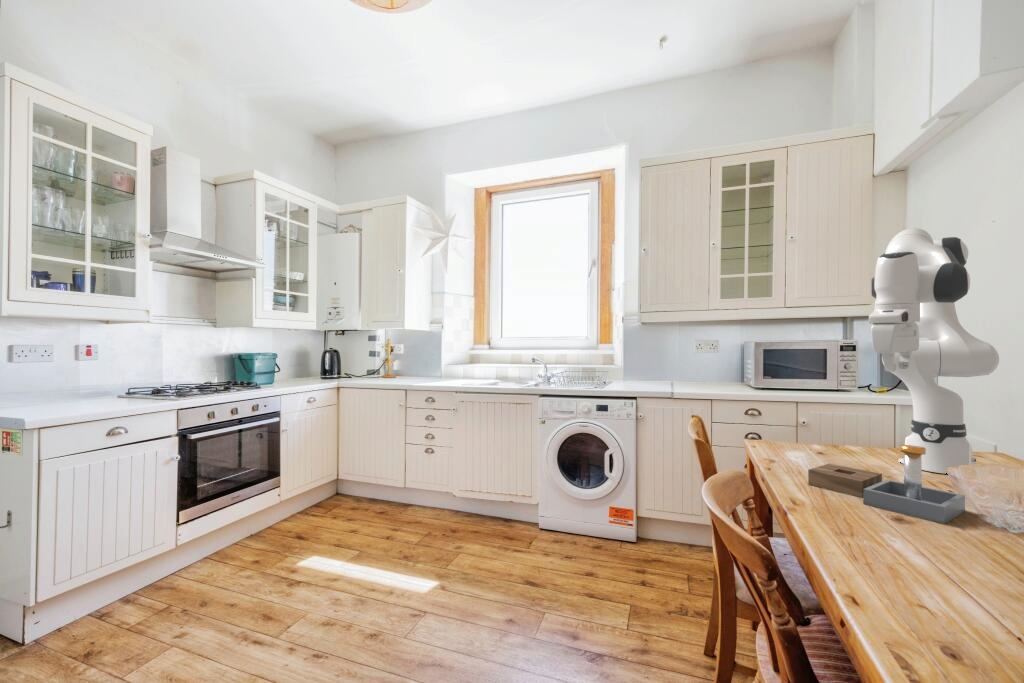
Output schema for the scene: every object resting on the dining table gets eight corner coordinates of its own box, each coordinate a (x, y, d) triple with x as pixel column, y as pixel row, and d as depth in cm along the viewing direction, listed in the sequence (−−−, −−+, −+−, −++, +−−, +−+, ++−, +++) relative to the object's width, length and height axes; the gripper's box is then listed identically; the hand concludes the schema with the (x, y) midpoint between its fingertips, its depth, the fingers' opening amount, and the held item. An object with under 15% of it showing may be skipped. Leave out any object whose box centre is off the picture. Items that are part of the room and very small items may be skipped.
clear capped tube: (904, 500, 105) (903, 444, 105) (929, 505, 101) (928, 447, 102) (897, 503, 103) (896, 446, 103) (922, 509, 99) (921, 450, 99)
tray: (887, 493, 112) (887, 479, 112) (964, 510, 100) (964, 495, 100) (863, 503, 104) (863, 488, 104) (944, 524, 92) (944, 507, 92)
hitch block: (829, 477, 125) (829, 463, 125) (882, 489, 115) (882, 473, 115) (808, 484, 119) (808, 469, 119) (862, 497, 109) (862, 481, 109)
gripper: (896, 316, 122) (896, 366, 122) (865, 316, 111) (866, 372, 111) (927, 315, 116) (927, 368, 117) (897, 315, 105) (898, 373, 106)
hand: (897, 370), depth 114 cm, fingers open, 8 cm apart
